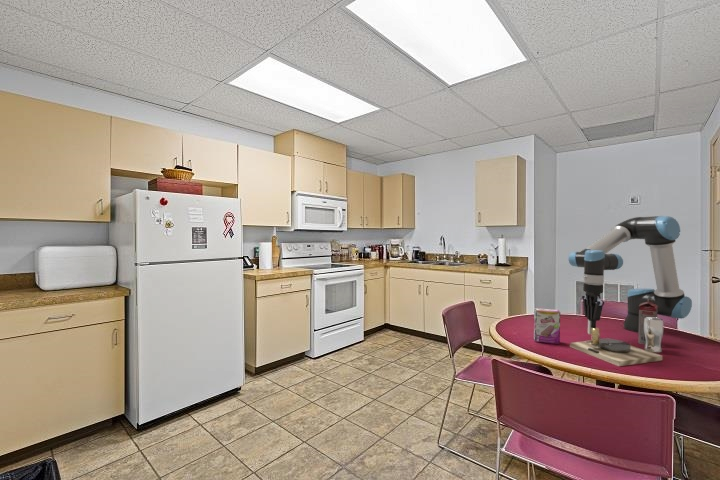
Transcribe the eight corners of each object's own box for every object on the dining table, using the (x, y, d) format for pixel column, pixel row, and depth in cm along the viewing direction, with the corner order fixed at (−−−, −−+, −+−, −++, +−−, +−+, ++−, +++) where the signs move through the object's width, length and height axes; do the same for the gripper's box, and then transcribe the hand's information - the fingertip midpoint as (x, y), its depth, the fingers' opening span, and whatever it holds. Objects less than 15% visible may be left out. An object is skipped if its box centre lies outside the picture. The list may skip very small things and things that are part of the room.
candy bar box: (535, 342, 170) (535, 310, 169) (533, 339, 175) (533, 307, 174) (560, 344, 166) (560, 311, 166) (558, 341, 171) (558, 309, 170)
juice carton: (638, 343, 167) (639, 299, 166) (639, 340, 172) (640, 297, 171) (656, 346, 162) (657, 301, 162) (656, 343, 167) (657, 299, 167)
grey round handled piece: (616, 343, 161) (617, 324, 160) (637, 352, 149) (637, 331, 148) (578, 343, 161) (578, 324, 160) (595, 352, 149) (595, 332, 148)
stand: (609, 342, 169) (609, 337, 169) (662, 360, 146) (662, 354, 145) (569, 347, 163) (569, 341, 163) (618, 366, 140) (618, 359, 140)
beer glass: (666, 353, 153) (667, 320, 153) (649, 352, 155) (649, 320, 154) (656, 348, 160) (657, 316, 160) (639, 347, 162) (640, 316, 161)
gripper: (576, 281, 162) (575, 329, 163) (593, 286, 149) (591, 338, 151) (593, 281, 162) (591, 329, 163) (611, 286, 149) (609, 338, 150)
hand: (591, 333), depth 157 cm, fingers closed
